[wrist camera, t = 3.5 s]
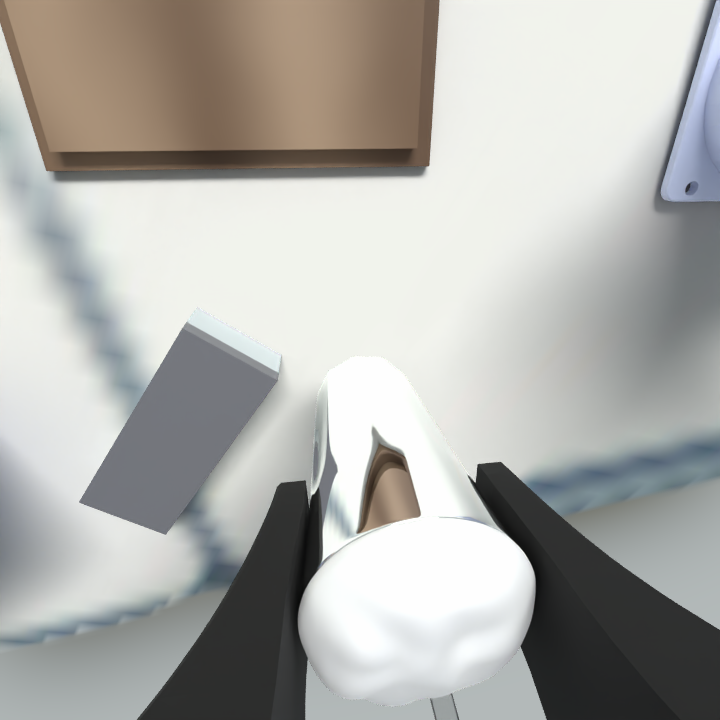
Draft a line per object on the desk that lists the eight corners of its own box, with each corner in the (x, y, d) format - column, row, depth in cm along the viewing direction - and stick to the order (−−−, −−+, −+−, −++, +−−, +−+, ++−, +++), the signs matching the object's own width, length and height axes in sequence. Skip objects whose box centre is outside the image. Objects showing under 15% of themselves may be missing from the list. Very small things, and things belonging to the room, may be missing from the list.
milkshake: (322, 475, 17) (350, 849, 8) (281, 355, 14) (255, 702, 5) (436, 446, 17) (590, 785, 8) (415, 321, 14) (605, 610, 6)
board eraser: (199, 303, 18) (182, 328, 16) (282, 351, 20) (277, 380, 17) (104, 462, 21) (79, 502, 19) (180, 494, 23) (165, 534, 20)
